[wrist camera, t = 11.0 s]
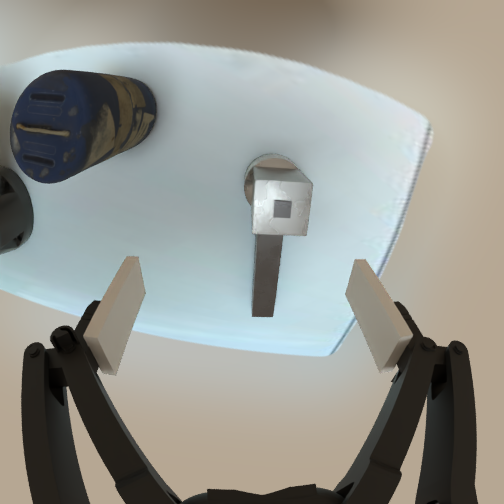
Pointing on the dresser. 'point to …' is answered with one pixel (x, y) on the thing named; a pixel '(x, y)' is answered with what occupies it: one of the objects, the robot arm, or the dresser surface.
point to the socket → (280, 201)
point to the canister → (77, 122)
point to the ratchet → (265, 246)
